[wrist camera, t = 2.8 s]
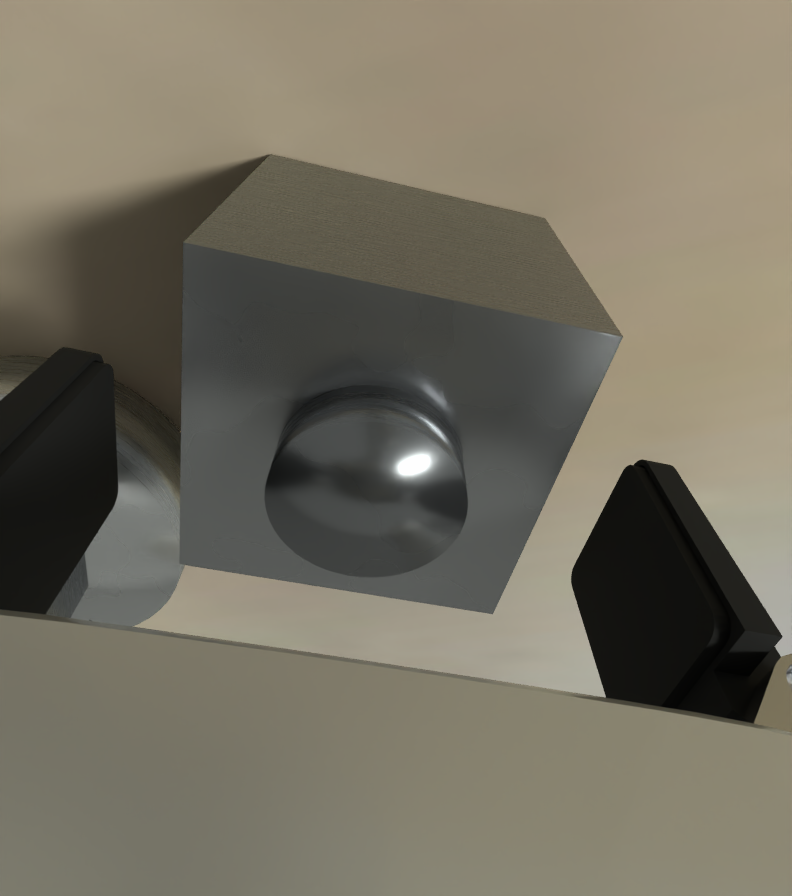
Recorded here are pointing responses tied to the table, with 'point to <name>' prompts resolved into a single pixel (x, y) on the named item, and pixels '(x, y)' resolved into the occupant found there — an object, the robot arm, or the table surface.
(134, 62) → the table surface
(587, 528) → the table surface
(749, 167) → the table surface
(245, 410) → the cube with domed knob
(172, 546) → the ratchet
